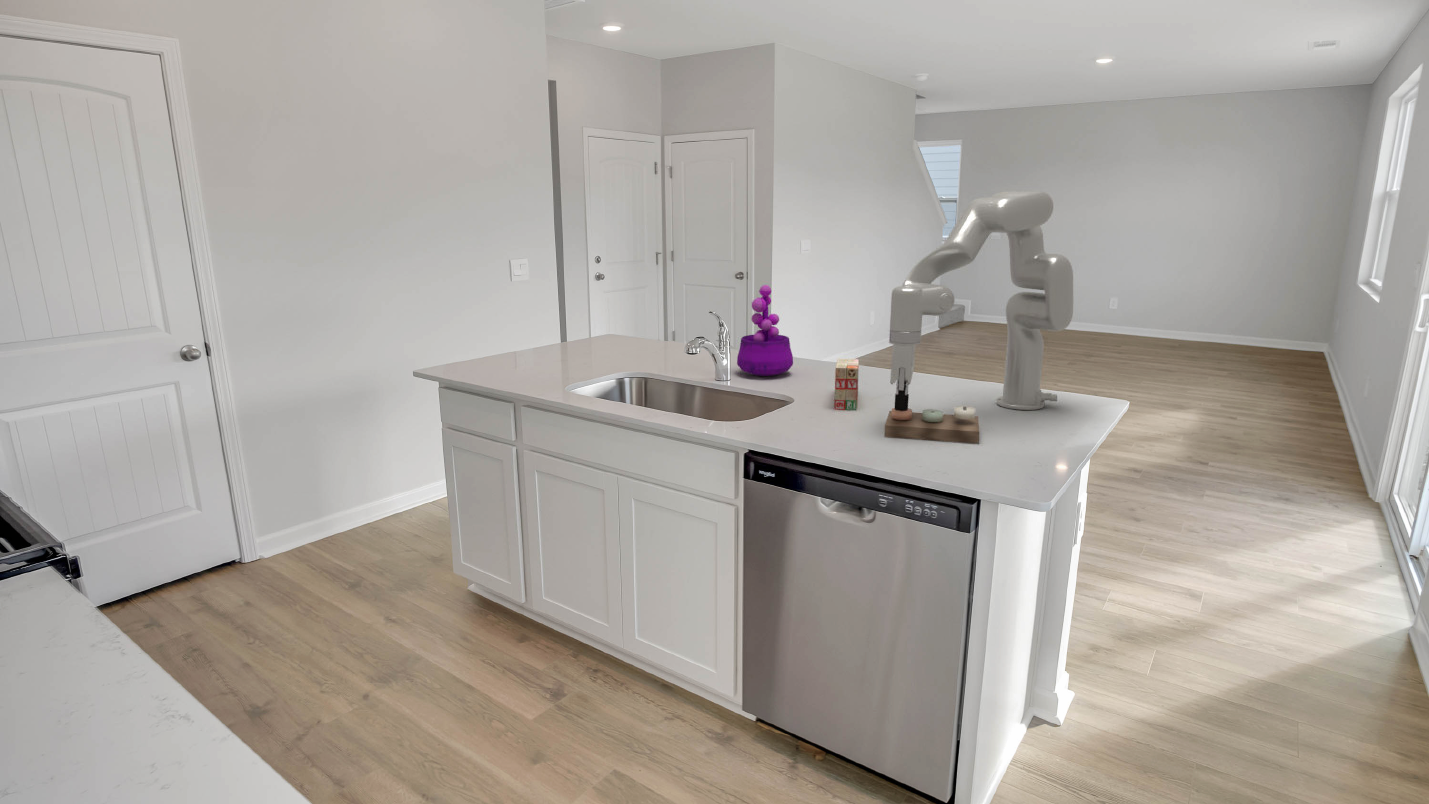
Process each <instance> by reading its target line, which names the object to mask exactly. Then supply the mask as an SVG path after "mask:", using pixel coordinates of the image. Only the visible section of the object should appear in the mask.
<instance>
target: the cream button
mask: <svg viewBox="0 0 1429 804" xmlns="http://www.w3.org/2000/svg"><path fill="white" fill-rule="evenodd" d="M953 415H954V417H956V418H959V419H974V418H975V416H976V408H975V407H973V406H967V405H961V406H960V405H959V406H954V408H953Z"/></svg>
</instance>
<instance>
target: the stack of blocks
mask: <svg viewBox="0 0 1429 804" xmlns="http://www.w3.org/2000/svg"><path fill="white" fill-rule="evenodd" d="M859 364H860V362H859V359H858V358H837V360H836V365H835V372H834V373H835V374H834V375H835V376H834V403H833V404H834V407H833V410H835V411H836V410H837V411H857V407H858V399H859V398H858V397H859V372H860V371H859V370H860V369H859V368H860V367H859Z"/></svg>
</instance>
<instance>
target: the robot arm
mask: <svg viewBox="0 0 1429 804" xmlns="http://www.w3.org/2000/svg"><path fill="white" fill-rule="evenodd" d="M1053 211H1054V201H1053V199H1052V197H1051V195H1049V193H1047V192H1045V191H1042V190H1027V191H1026V190H1024V191H1022V190H1020V191H1019V190H1014V191H1012V190H1011V191H1009V190H1008V191H1007V190H1006V191H1001V192H996V193H994V194H992V195H991V196H990V197H978V198H975V199H973V200H971V201H970V202H969V203H968V204H967V205H966V207H965V209H964V210H963V211H962V213H961V215H960V217H959V218H958V220H957V221H956V223H955V225H954V227H953V228H952V230H950V233H949V235H948V236H947V238H946V239H945V241H944V243H942V245H940V246H939V247H937V248H936V249H934V250H932V252H930V253H929V254H928V255H926V256H924V258H922V259H921V260H919V261H918V262H917V263H916V264H915V265H914V266H913V267H912V269H911V270H910V272H909V273H908V275H907V277H906V278H905V280H904V282H903V283H902V285H899V286H896V287H894V288H893V289H892V291H891V298H890V300H891V301H890V317H889V337H888V338H889V340H888V341H889V342H888V343H889V344H890V345H892V351H891V352H892V353H891V367H890V379H889V381H890V382H889V383H890V384H891V385H893V384H895V385H896V387H895V394H894V407H893V408H894V409H895V410H901V411H907V410H908V408H909V398H910V397H909V396H910V395H909V394H910V393H909V385H910V384H911V383H912V379H913V374H914V368H915V356H916V355H915V354H916V346H919V345H921V343H922V342H921V341H922V326H923V325H922V324H923V316H935V317H940V316H944V315H945V314H947V313H949V312H950V311H951V310H952V308H953V306H955V305H954V304H955V295H954V293H953V291H952V290H951V289H950V288H948V287H946V286H944V285H940V284H935V283H934V284H932V283H933V282H934V281H935V280H936V279H938V278H939V277H941V276H942V275H945V274H946V273H949V272H953V271H954V270H958V269H960V268H963V267H965V266H968V265H970V264H971V263H973V262H974V261H975V259H976V257H977V256H978V254H979V253H980V251H981V249H982V247H983V245H984V244H985V243H986V240H988V238H989V236H990V234H993V233H997V234H998V233H999V234H1000V233H1001V234H1002V233H1006V235H1007V238H1008V245H1009V246H1008V248H1009V266H1010V267H1009V269H1010V272H1009V273H1010V279H1011V280H1010V281H1011V282H1012V284H1013V285H1014V286H1015V287H1017V288H1022V289H1028V290H1029V289H1030V290H1040V291H1044V293H1043V292H1036V291H1035V292H1032V291H1022V292H1021V291H1020V292H1017V293H1015V294H1013V295H1012V296H1011V297H1010V298H1009V299H1008V301H1007V303H1006V307H1005V319H1006V325H1007V338H1006V339H1007V340H1006V341H1007V343H1006V353H1005V366H1004V377H1003V387H1002V388H1003V389H1002V395H1001V396H999V397H997V398H996V404H997V405H998V406H999V407H1003V408H1006V409H1012V410H1021V411H1036V410H1040V409H1043V408H1044V407H1045V401H1050V402H1057V401H1058V393H1057V394H1055V393H1054V394H1053V393H1051V392H1043V391H1042V389H1041V378H1042V369H1043V368H1042V367H1043V359H1044V358H1043V356H1044V350H1045V349H1044V348H1045V344H1044V343H1045V342H1044V338H1043V335H1042V332H1041V330H1042V331H1051V332H1061V331H1064V330H1065V329H1066V328H1067V329H1068V327H1069V326H1070V324H1071V322H1072V321H1073V320H1072V319H1073V314H1074V270H1073V266H1072V263H1071V262H1070V260H1069V259H1068V258H1067V257H1066V256H1064V255H1062V254H1057V253H1046V252H1045V247H1044V245H1045V244H1044V243H1045V242H1044V235H1043V234H1044V233H1043V229H1042V227H1041V226H1042V225H1044V224H1045V223H1047V222H1048V221H1049V219H1050V218H1051V217H1052V214H1053Z"/></svg>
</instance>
